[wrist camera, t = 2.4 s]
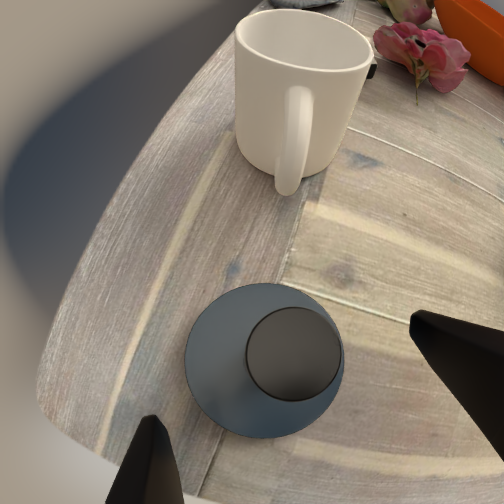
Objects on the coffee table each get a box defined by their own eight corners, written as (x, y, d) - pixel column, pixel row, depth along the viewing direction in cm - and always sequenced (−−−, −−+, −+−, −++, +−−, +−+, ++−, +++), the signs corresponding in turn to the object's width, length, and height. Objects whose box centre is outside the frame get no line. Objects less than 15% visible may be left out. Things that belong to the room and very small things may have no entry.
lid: (335, 433, 16) (431, 488, 6) (183, 428, 16) (115, 492, 6) (339, 290, 20) (426, 210, 9) (194, 282, 20) (147, 188, 9)
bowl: (489, 109, 29) (523, 60, 20) (391, 13, 37) (405, -30, 28) (546, 113, 32) (570, 82, 23) (470, 31, 41) (485, 0, 32)
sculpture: (419, -27, 32) (460, -6, 28) (415, 5, 40) (452, 29, 36) (365, -26, 32) (411, -5, 28) (365, 12, 40) (405, 37, 36)
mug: (335, 235, 21) (395, 138, 12) (217, 218, 21) (202, 106, 12) (334, 116, 26) (364, 22, 16) (244, 102, 26) (246, 3, 16)
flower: (377, 68, 34) (420, 24, 28) (428, 119, 32) (475, 73, 26) (345, 40, 26) (400, -16, 19) (413, 101, 24) (475, 41, 17)
